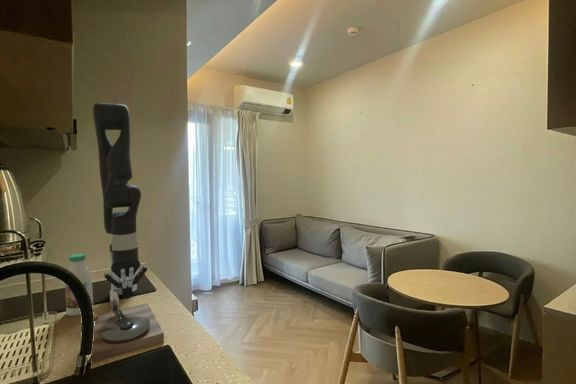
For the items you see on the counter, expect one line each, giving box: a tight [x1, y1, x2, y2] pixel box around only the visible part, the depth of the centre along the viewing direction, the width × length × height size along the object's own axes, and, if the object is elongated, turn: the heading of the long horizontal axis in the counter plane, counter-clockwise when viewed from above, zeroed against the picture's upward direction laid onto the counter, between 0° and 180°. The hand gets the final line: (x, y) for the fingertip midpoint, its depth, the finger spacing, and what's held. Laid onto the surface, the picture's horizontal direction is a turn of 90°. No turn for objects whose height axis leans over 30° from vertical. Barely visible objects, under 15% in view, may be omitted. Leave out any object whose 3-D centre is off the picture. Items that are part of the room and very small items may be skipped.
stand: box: [92, 303, 165, 364], centre depth 89 cm, size 24×18×4 cm
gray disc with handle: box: [102, 289, 150, 343], centre depth 89 cm, size 22×12×8 cm, turn 42°
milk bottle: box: [64, 253, 94, 317], centre depth 104 cm, size 8×8×20 cm
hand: (127, 297), depth 99 cm, fingers closed
